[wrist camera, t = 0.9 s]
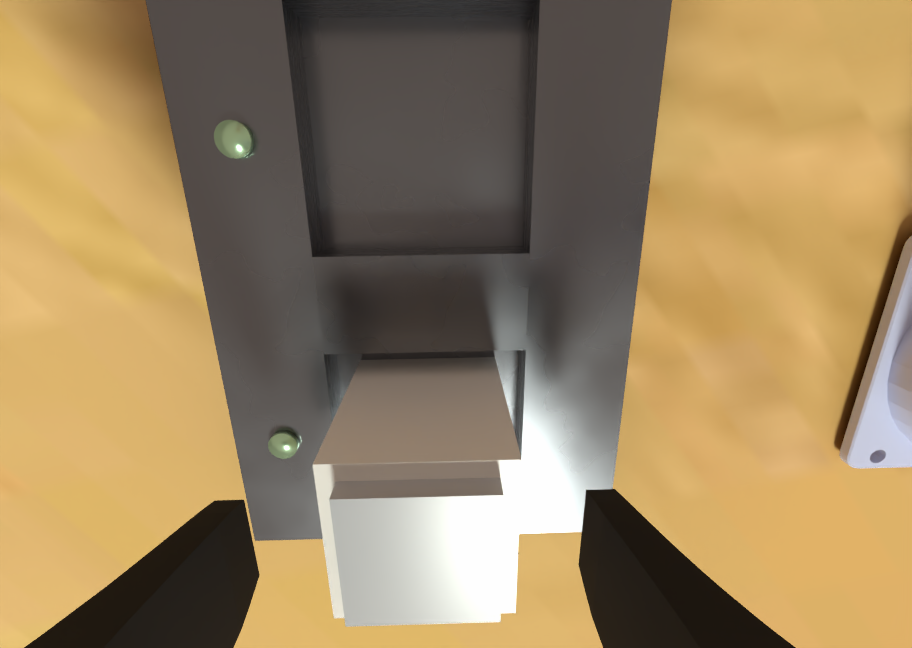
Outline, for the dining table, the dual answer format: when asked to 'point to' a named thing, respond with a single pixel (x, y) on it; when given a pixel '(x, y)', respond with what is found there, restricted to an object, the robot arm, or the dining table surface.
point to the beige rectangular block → (421, 494)
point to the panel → (417, 215)
